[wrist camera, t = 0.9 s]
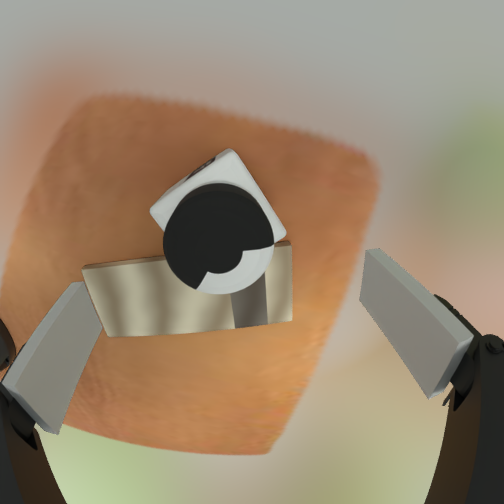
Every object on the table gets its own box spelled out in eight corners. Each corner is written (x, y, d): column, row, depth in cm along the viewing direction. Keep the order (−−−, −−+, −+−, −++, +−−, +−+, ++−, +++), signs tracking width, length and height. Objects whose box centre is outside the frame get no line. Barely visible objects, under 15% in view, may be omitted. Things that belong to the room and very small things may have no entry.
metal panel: (110, 331, 32) (108, 337, 31) (85, 265, 28) (81, 270, 27) (289, 314, 34) (292, 320, 32) (289, 241, 29) (291, 245, 28)
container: (165, 191, 26) (123, 236, 14) (230, 146, 25) (239, 153, 13) (209, 249, 29) (204, 328, 17) (271, 209, 28) (310, 266, 16)
